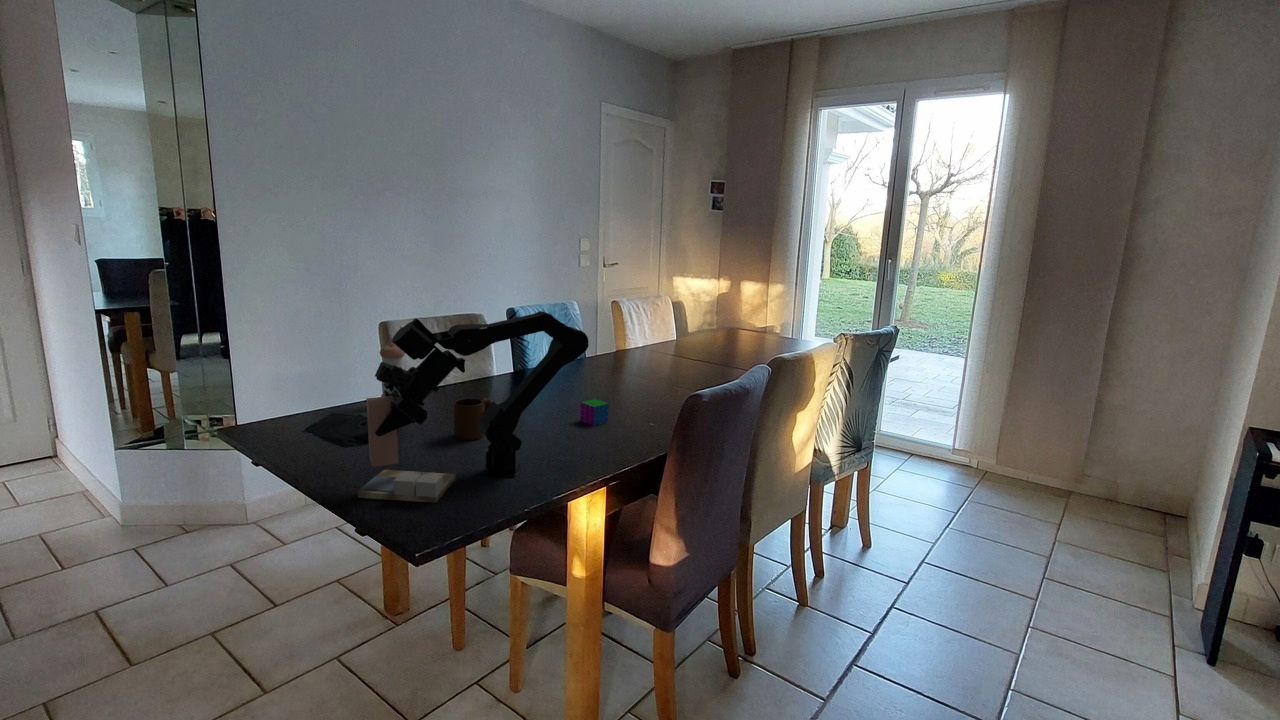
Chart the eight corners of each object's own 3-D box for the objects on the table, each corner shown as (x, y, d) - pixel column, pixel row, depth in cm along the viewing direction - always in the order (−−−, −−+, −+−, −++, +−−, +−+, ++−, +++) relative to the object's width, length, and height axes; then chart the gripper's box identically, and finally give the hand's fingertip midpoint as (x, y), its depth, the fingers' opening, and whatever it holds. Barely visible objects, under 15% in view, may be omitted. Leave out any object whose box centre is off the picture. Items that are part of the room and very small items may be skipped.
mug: (479, 425, 174) (479, 393, 172) (501, 431, 170) (501, 397, 168) (447, 437, 163) (447, 402, 161) (469, 443, 160) (469, 407, 158)
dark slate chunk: (352, 419, 176) (351, 402, 175) (403, 435, 165) (402, 418, 164) (298, 432, 163) (297, 415, 162) (350, 451, 152) (349, 432, 151)
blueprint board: (455, 479, 137) (455, 473, 137) (435, 502, 126) (435, 496, 125) (384, 474, 138) (384, 468, 138) (357, 497, 126) (357, 491, 126)
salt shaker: (376, 406, 186) (373, 343, 182) (393, 401, 193) (391, 340, 189) (395, 410, 184) (393, 346, 180) (412, 404, 191) (410, 342, 187)
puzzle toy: (608, 422, 183) (608, 403, 181) (593, 426, 178) (594, 406, 177) (594, 417, 186) (595, 399, 185) (580, 421, 182) (580, 402, 181)
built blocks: (442, 489, 129) (442, 475, 129) (435, 497, 125) (435, 483, 125) (402, 486, 130) (402, 472, 129) (394, 494, 126) (393, 480, 125)
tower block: (395, 454, 133) (392, 395, 130) (398, 463, 128) (395, 402, 125) (369, 457, 130) (366, 398, 127) (372, 466, 126) (368, 405, 123)
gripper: (392, 340, 134) (338, 395, 131) (407, 358, 118) (347, 420, 115) (431, 373, 140) (380, 426, 136) (451, 394, 124) (394, 454, 121)
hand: (375, 430), depth 127 cm, fingers closed on tower block, 5 cm apart
